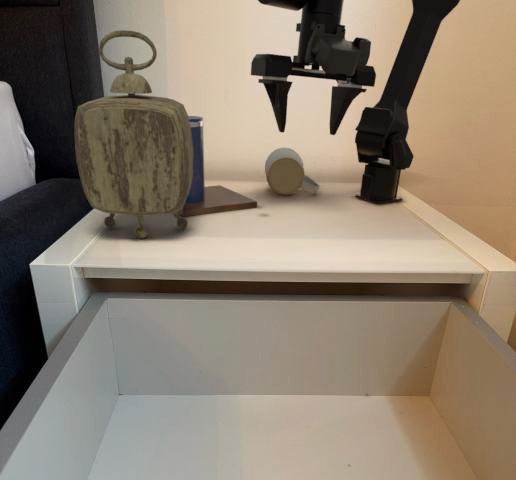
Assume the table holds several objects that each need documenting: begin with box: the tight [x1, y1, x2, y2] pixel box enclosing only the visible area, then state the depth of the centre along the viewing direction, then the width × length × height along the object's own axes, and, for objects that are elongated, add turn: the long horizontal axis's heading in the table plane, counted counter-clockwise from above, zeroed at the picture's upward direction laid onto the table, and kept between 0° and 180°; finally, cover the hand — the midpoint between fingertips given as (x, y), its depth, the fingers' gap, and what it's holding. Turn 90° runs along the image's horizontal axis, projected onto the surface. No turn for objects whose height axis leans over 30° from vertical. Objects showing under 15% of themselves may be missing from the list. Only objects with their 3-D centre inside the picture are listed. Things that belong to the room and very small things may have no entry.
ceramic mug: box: [264, 147, 320, 196], centre depth 96 cm, size 11×8×8 cm
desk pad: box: [177, 184, 258, 217], centre depth 89 cm, size 14×14×1 cm
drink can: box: [185, 115, 206, 203], centre depth 84 cm, size 6×6×13 cm
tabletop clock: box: [73, 29, 193, 240], centre depth 66 cm, size 14×9×25 cm, turn 92°
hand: (307, 133), depth 79 cm, fingers open, 9 cm apart
